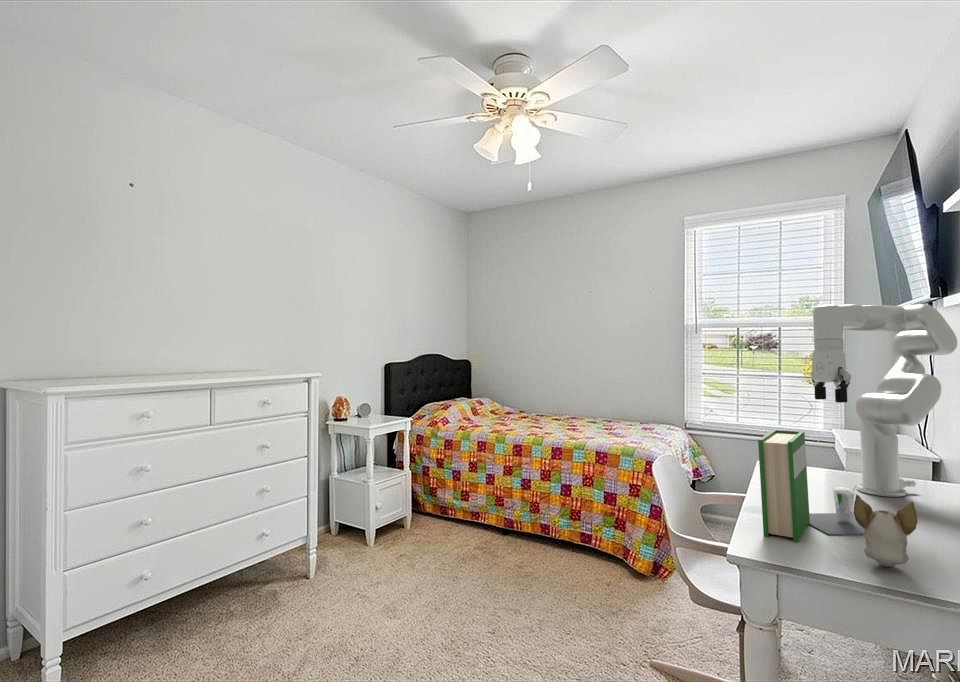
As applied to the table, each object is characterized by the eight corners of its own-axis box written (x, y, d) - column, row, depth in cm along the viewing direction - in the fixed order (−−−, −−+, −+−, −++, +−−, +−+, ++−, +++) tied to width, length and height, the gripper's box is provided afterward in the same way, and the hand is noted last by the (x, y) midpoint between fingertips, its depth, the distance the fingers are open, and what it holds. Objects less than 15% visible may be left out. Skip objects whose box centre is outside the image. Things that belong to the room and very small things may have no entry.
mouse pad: (863, 514, 144) (863, 512, 144) (910, 534, 128) (910, 532, 128) (791, 515, 144) (790, 513, 144) (828, 535, 128) (828, 533, 128)
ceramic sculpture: (918, 566, 109) (915, 495, 110) (920, 581, 103) (917, 505, 103) (856, 555, 116) (853, 488, 116) (854, 568, 109) (852, 497, 109)
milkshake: (862, 525, 134) (860, 486, 134) (838, 524, 135) (837, 486, 135) (853, 520, 138) (852, 482, 138) (830, 519, 139) (829, 481, 139)
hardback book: (798, 542, 124) (792, 442, 124) (763, 536, 129) (758, 439, 129) (809, 521, 137) (804, 431, 138) (778, 516, 142) (773, 429, 143)
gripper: (799, 345, 167) (801, 398, 167) (835, 345, 150) (837, 403, 150) (823, 345, 167) (824, 398, 167) (861, 344, 150) (863, 403, 150)
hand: (830, 400), depth 158 cm, fingers open, 9 cm apart
